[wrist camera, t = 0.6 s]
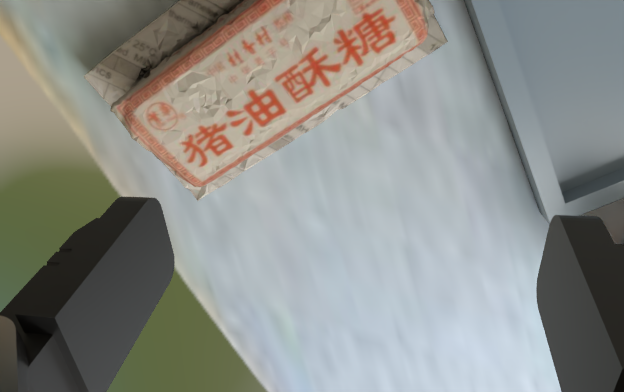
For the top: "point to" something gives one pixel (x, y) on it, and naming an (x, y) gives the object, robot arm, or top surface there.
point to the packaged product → (253, 75)
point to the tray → (560, 94)
